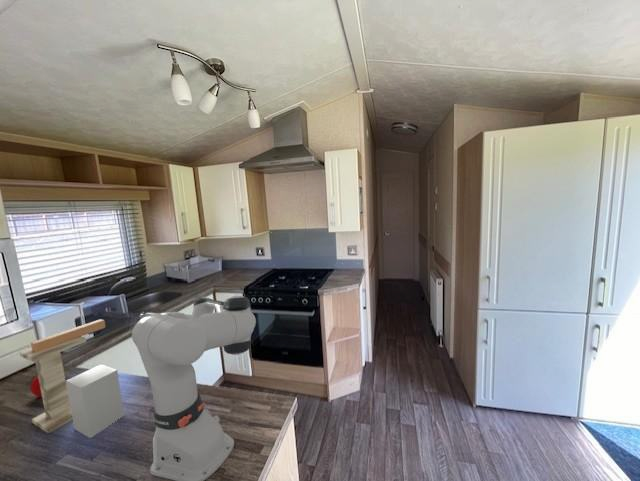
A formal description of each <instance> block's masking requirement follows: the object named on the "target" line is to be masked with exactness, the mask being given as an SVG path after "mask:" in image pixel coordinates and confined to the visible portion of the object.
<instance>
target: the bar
mask: <svg viewBox="0 0 640 481" xmlns="http://www.w3.org/2000/svg"><path fill="white" fill-rule="evenodd" d="M102 329H106V322H105V319H101V318H100V319H97V320H94V321H90V322H88V323H85V324H82V325H79V326H76V327H72V328H70V329H67V330H64V331H61V332H57V333H55V334H51V335H49V336H46V337H43V338H40V339H37V340H33V341H31V342H30V348H32V351H34V352H39V351H42V350H44V349H47V348H50V347H53V346H56V345H58V344H61V343H64V342H67V341H69V340H72V339H75V338H78V337H80V336H81V337H84V336H85V335H89V334H91V333H94V332H97V331H100V330H102Z"/></svg>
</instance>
